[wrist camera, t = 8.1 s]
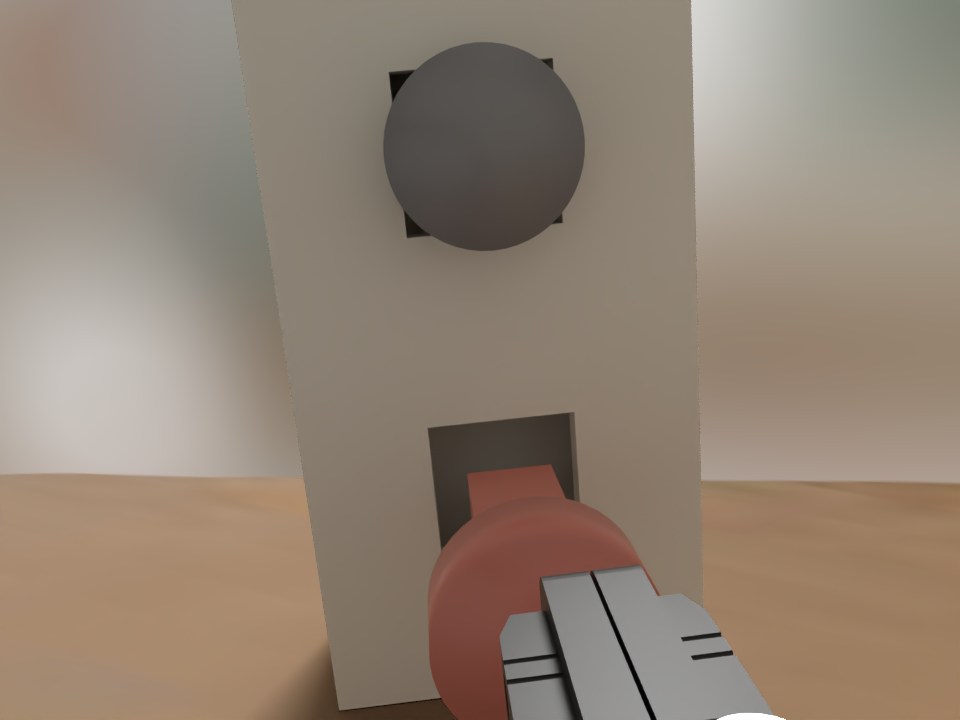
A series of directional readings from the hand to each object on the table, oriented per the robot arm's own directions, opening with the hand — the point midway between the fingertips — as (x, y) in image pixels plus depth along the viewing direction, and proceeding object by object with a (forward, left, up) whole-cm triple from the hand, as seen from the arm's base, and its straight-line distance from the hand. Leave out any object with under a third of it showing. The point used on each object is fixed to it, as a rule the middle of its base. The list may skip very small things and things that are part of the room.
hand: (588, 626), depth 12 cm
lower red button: (-5, +5, -6) cm, 9 cm away
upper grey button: (-10, +10, +4) cm, 14 cm away
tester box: (-11, +11, -10) cm, 18 cm away
